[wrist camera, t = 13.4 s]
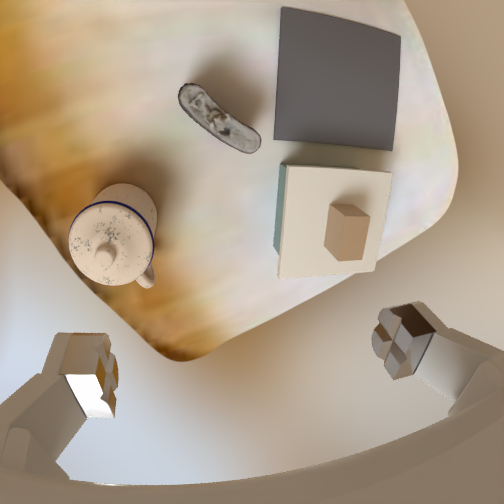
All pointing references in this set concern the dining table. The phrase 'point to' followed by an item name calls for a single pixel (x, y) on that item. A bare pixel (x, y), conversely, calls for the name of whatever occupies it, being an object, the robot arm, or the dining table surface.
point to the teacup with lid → (116, 237)
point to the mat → (336, 81)
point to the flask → (217, 119)
